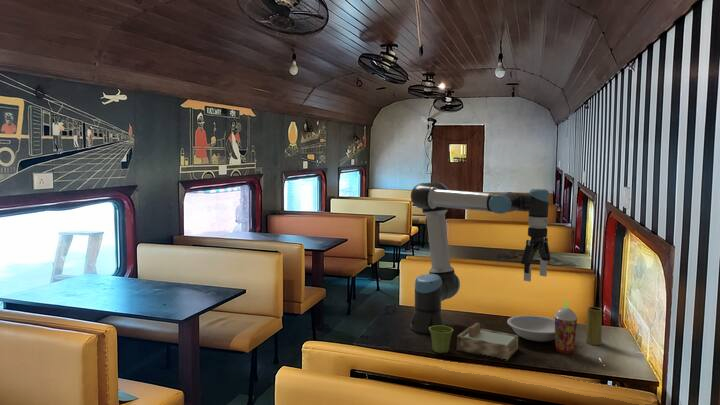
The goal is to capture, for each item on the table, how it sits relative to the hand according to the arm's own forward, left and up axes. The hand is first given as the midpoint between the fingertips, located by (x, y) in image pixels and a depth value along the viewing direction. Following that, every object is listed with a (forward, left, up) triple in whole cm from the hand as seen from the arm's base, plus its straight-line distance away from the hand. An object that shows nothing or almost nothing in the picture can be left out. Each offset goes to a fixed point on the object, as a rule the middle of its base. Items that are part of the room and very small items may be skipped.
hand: (535, 278), depth 213 cm
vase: (+21, +12, -27) cm, 36 cm away
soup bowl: (0, +4, -27) cm, 27 cm away
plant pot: (-28, -31, -27) cm, 49 cm away
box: (-13, -20, -26) cm, 36 cm away
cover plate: (-12, -20, -22) cm, 32 cm away
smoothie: (+13, -5, -27) cm, 30 cm away
